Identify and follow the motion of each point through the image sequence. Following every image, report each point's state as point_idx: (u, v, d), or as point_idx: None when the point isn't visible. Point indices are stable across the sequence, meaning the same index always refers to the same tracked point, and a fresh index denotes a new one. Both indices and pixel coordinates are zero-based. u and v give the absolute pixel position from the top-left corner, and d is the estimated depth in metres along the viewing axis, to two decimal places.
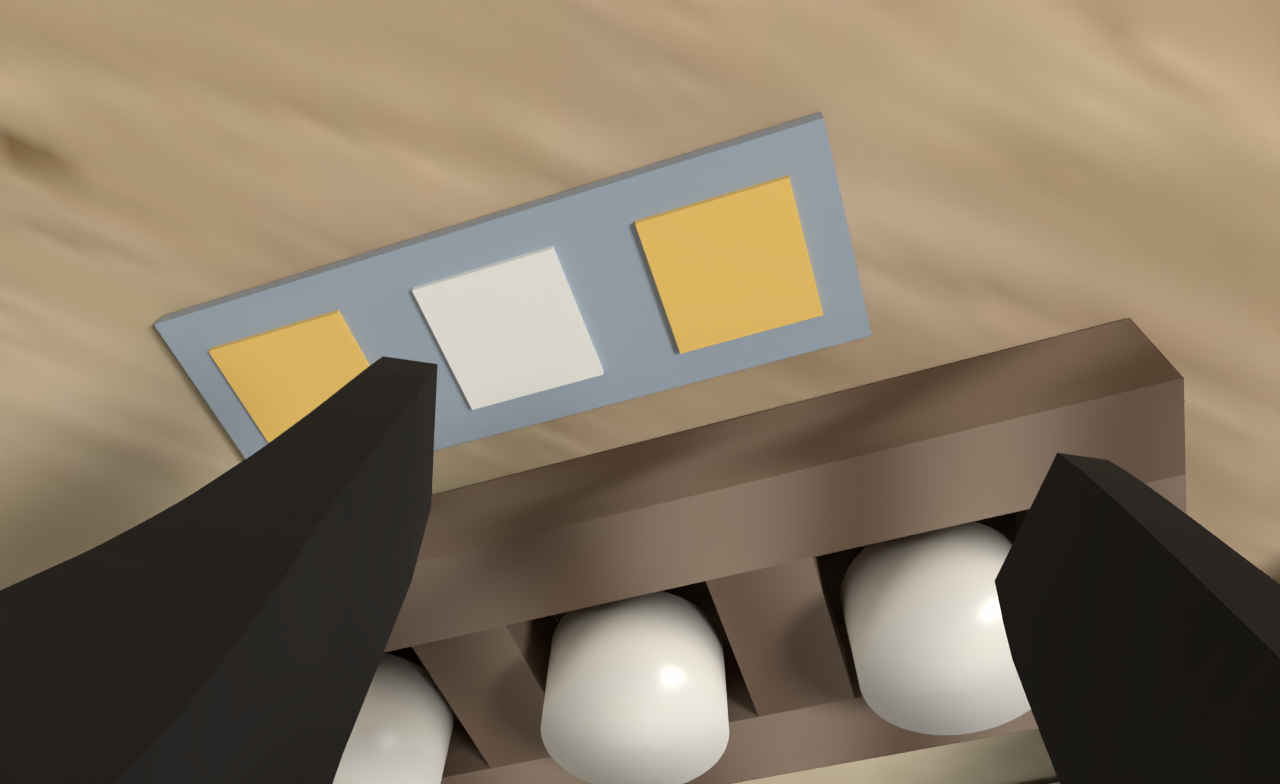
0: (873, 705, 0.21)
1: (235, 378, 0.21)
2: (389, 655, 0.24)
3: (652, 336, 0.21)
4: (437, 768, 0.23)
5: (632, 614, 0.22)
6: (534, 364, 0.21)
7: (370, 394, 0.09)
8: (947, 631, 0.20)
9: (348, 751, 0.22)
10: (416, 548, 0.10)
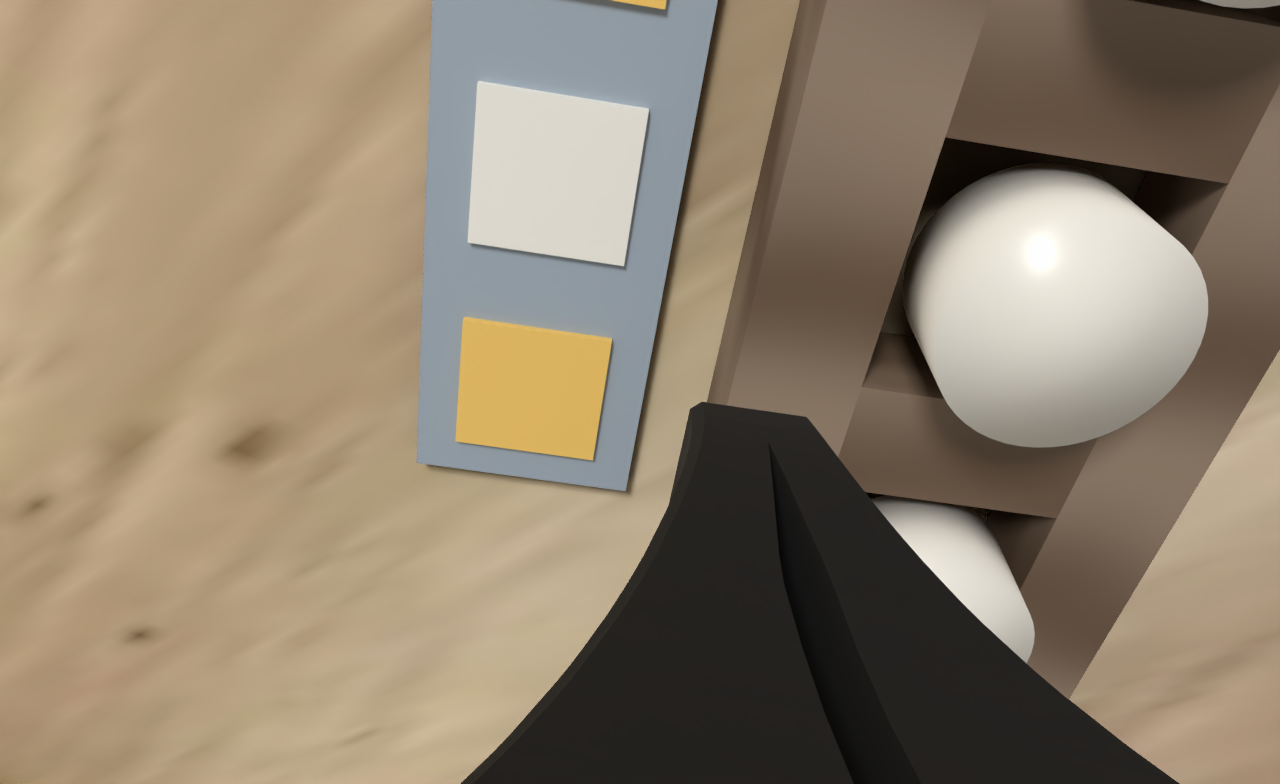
0: None
1: (491, 439, 0.22)
2: None
3: (632, 31, 0.17)
4: (974, 561, 0.19)
5: (933, 248, 0.17)
6: (601, 176, 0.18)
7: (729, 444, 0.09)
8: None
9: None
10: None
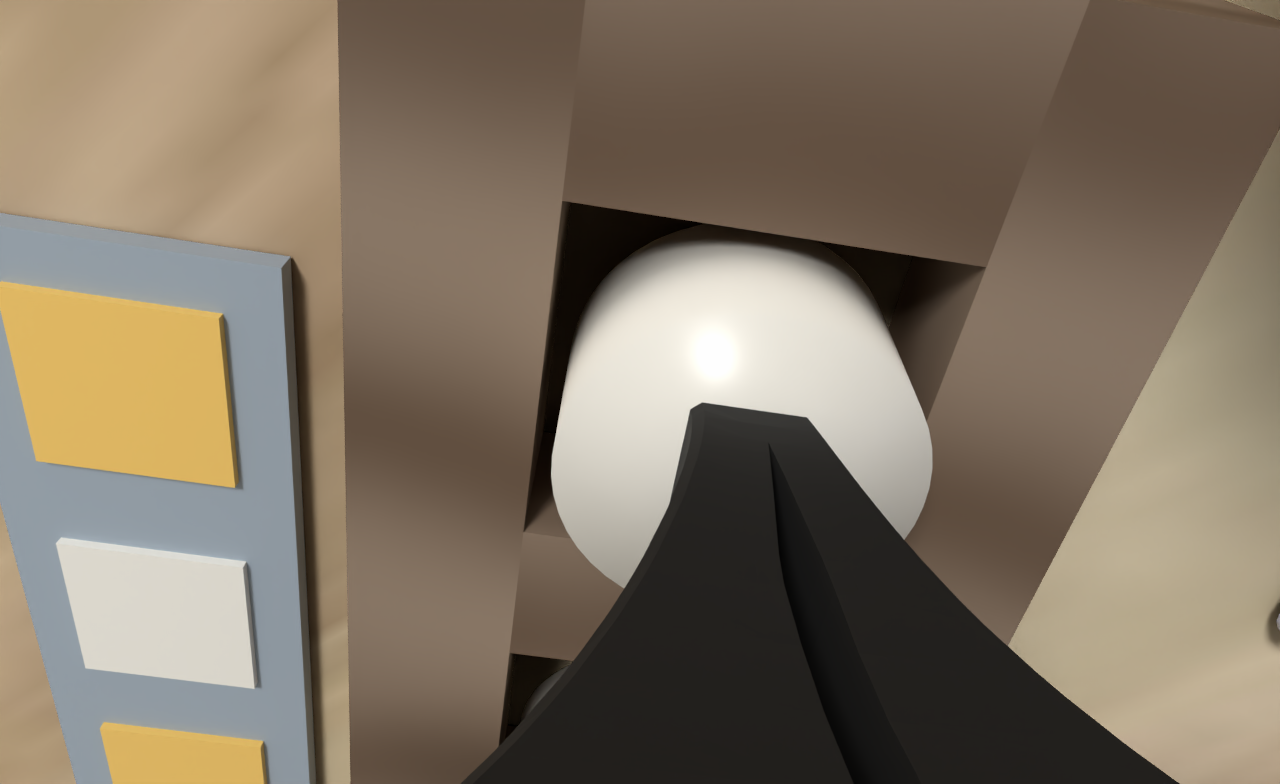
0: None
1: None
2: None
3: (209, 500, 0.16)
4: None
5: None
6: (209, 618, 0.17)
7: (729, 444, 0.09)
8: (627, 472, 0.11)
9: None
10: None
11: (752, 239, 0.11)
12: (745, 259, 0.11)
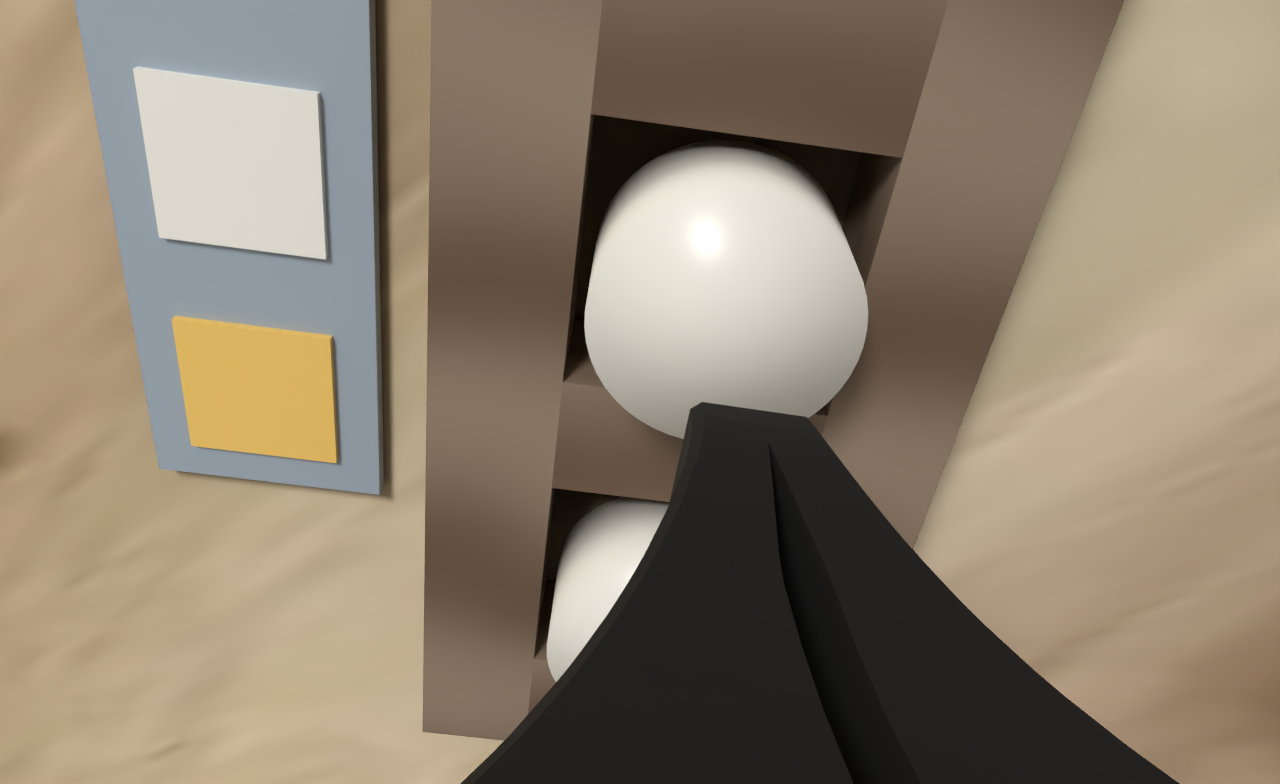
0: None
1: (227, 442, 0.21)
2: (586, 515, 0.20)
3: (285, 9, 0.16)
4: None
5: (601, 233, 0.16)
6: (282, 164, 0.17)
7: (729, 444, 0.09)
8: None
9: (593, 623, 0.18)
10: None
11: None
12: None
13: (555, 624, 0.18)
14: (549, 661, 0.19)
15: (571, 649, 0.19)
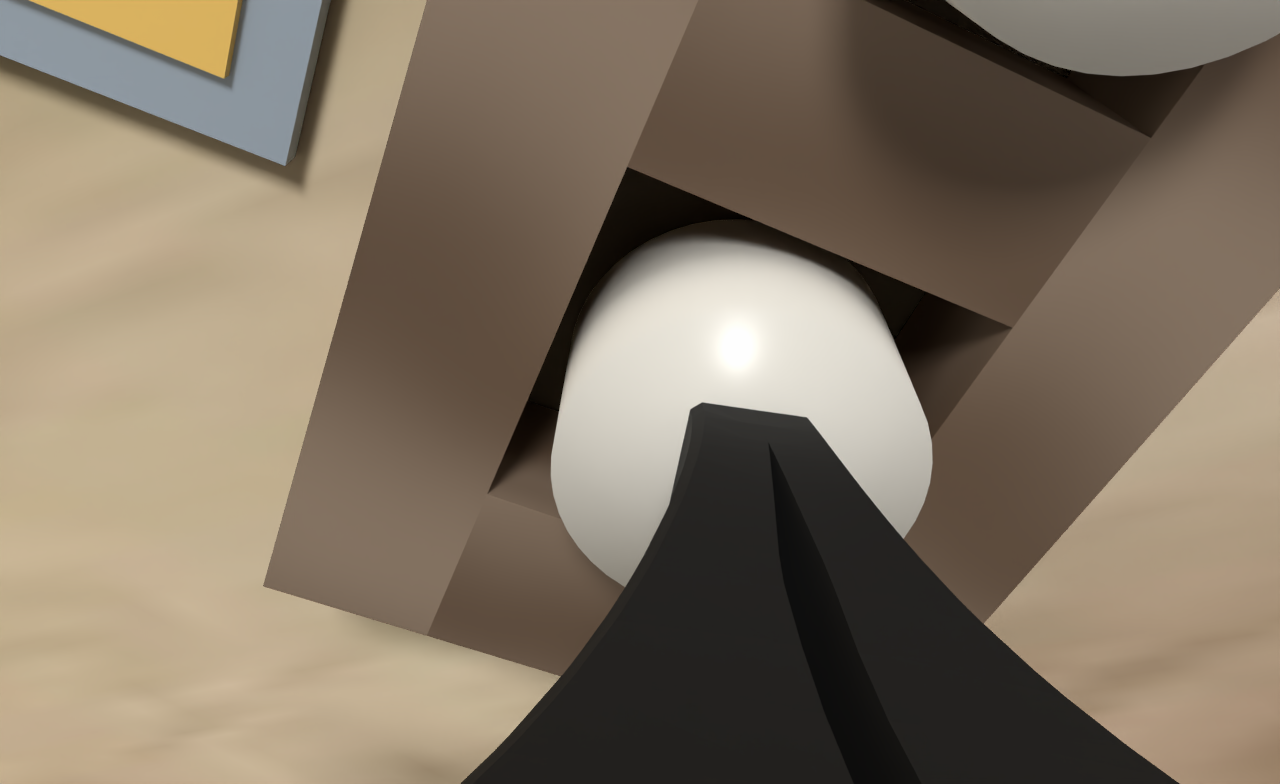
0: None
1: None
2: (651, 241, 0.12)
3: None
4: (857, 323, 0.10)
5: None
6: None
7: (729, 444, 0.09)
8: None
9: (657, 390, 0.10)
10: None
11: None
12: None
13: (591, 378, 0.10)
14: (554, 448, 0.11)
15: (602, 433, 0.11)
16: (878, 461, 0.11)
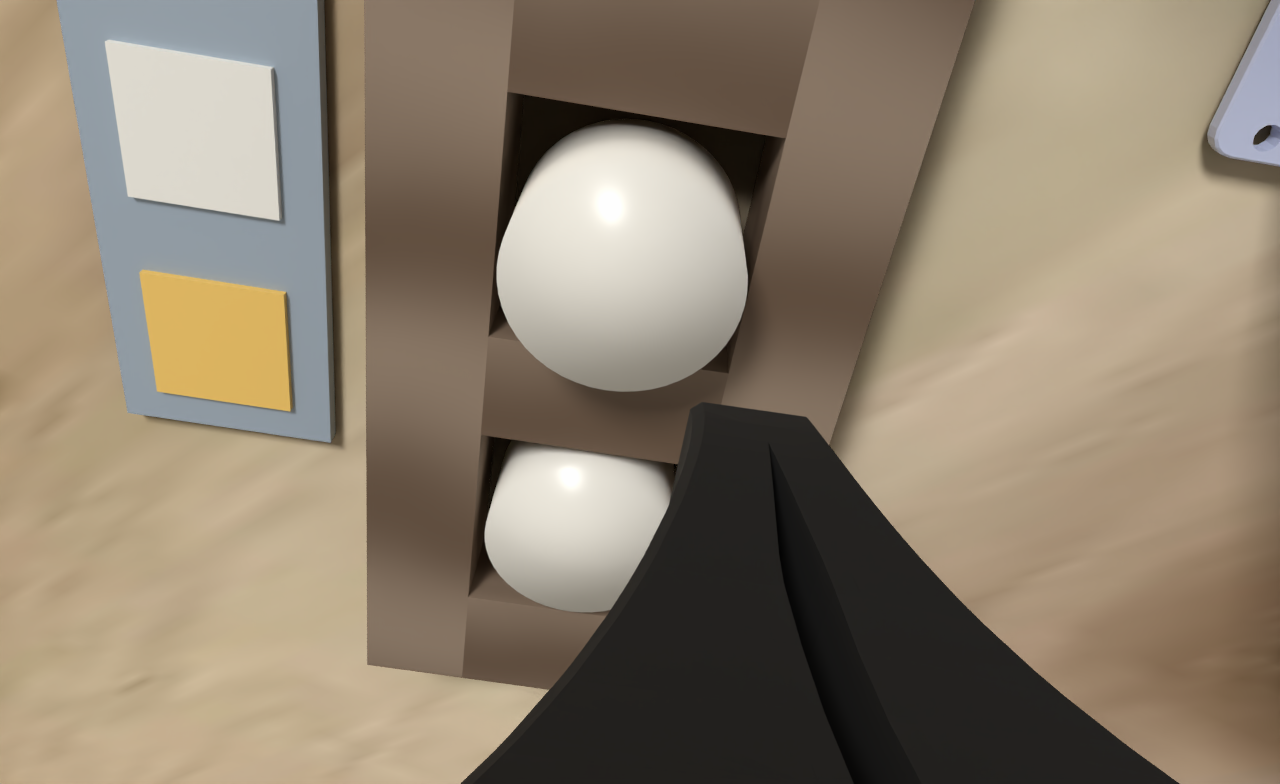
0: None
1: (190, 389, 0.23)
2: None
3: None
4: (610, 462, 0.21)
5: (519, 200, 0.17)
6: (239, 132, 0.19)
7: (729, 444, 0.09)
8: None
9: (523, 511, 0.21)
10: None
11: None
12: None
13: (491, 512, 0.21)
14: (486, 546, 0.22)
15: (505, 535, 0.22)
16: (641, 524, 0.21)
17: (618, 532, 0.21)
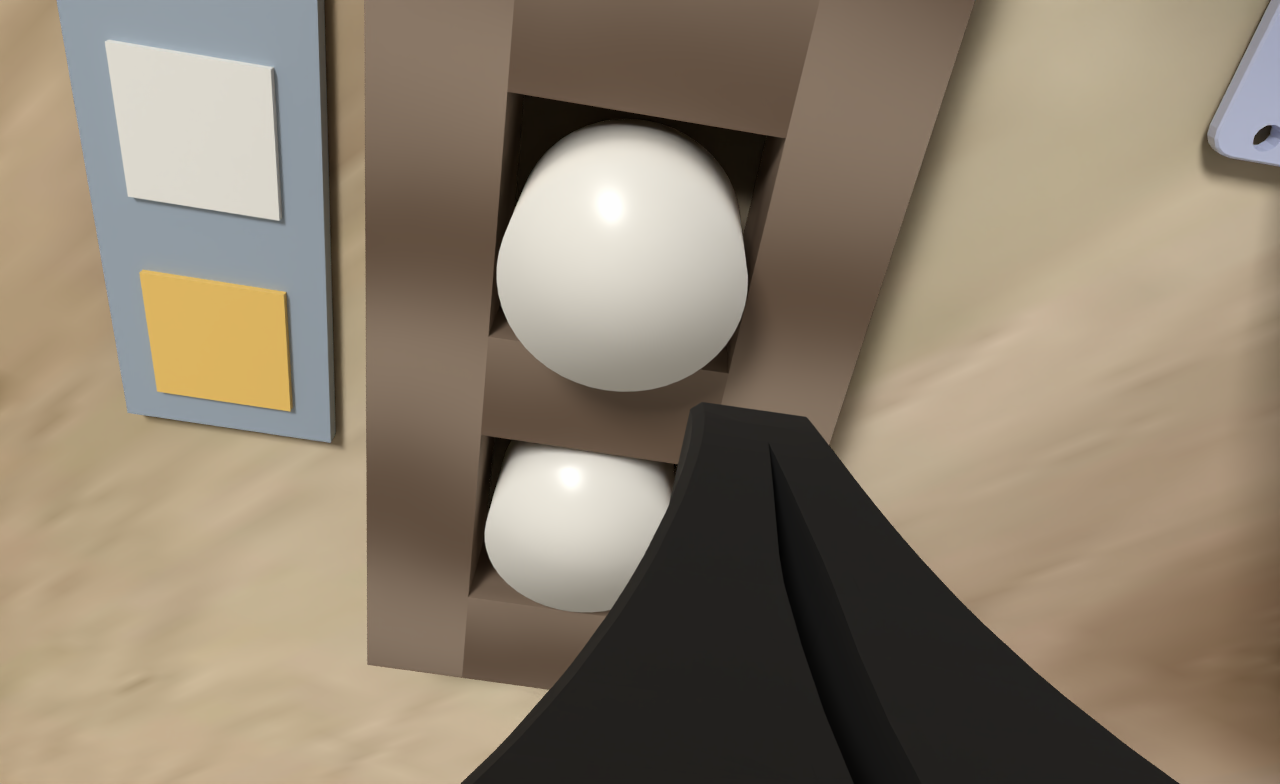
0: None
1: (190, 389, 0.23)
2: None
3: None
4: (610, 462, 0.21)
5: (519, 200, 0.17)
6: (239, 132, 0.19)
7: (729, 444, 0.09)
8: None
9: (523, 511, 0.21)
10: None
11: None
12: None
13: (491, 512, 0.21)
14: (486, 546, 0.22)
15: (505, 535, 0.22)
16: (641, 524, 0.21)
17: (618, 532, 0.21)
